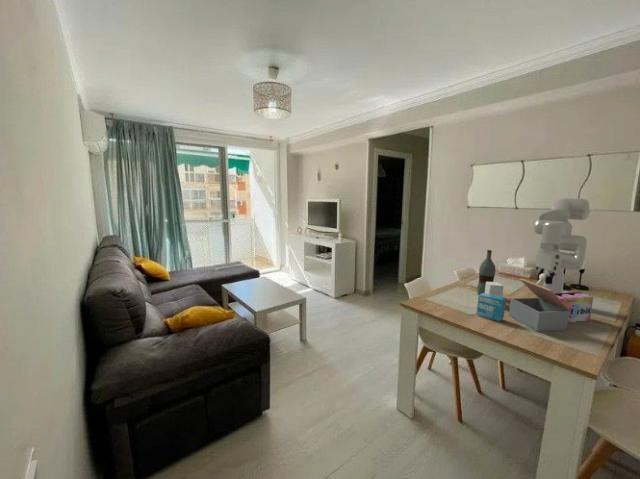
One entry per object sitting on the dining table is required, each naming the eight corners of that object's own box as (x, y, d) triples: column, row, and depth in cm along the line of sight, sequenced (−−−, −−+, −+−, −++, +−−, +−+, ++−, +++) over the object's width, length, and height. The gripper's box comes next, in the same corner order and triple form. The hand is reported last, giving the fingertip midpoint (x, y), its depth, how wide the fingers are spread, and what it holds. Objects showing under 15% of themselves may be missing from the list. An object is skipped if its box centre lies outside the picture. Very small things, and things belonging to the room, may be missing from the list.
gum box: (577, 314, 158) (581, 291, 156) (592, 321, 151) (597, 296, 148) (539, 317, 155) (543, 293, 152) (553, 323, 147) (557, 298, 145)
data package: (476, 315, 156) (478, 294, 154) (478, 312, 159) (480, 292, 157) (501, 322, 148) (504, 300, 146) (503, 319, 151) (506, 298, 149)
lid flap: (537, 297, 156) (548, 286, 156) (570, 311, 138) (582, 299, 138) (518, 278, 153) (529, 267, 152) (549, 290, 135) (561, 277, 134)
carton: (535, 314, 158) (537, 297, 156) (566, 330, 140) (569, 311, 138) (508, 315, 156) (511, 298, 154) (536, 331, 138) (539, 312, 137)
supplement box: (501, 306, 169) (504, 286, 166) (487, 305, 170) (490, 285, 168) (496, 301, 176) (498, 282, 174) (483, 300, 177) (485, 281, 175)
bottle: (494, 298, 181) (499, 252, 176) (478, 296, 184) (483, 251, 179) (490, 293, 190) (495, 249, 185) (475, 291, 193) (479, 248, 188)
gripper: (572, 250, 133) (566, 287, 136) (542, 243, 150) (537, 277, 153) (558, 250, 133) (552, 287, 136) (529, 243, 149) (524, 277, 152)
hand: (544, 281), depth 144 cm, fingers closed on lid flap, 4 cm apart
